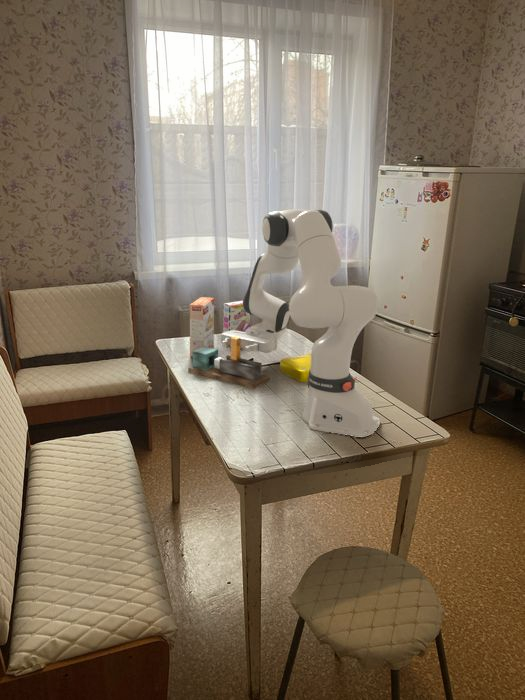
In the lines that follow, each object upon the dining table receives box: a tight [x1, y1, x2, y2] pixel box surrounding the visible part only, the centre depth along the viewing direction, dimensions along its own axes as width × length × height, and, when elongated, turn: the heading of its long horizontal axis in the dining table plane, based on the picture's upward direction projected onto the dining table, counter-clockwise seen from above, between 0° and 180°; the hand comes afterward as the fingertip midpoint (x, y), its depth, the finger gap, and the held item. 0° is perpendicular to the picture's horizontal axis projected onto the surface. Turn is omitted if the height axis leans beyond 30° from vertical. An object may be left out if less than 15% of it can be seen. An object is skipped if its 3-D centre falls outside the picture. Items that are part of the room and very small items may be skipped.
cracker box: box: [189, 296, 215, 358], centre depth 204 cm, size 14×6×21 cm, turn 168°
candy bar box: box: [222, 300, 251, 333], centre depth 221 cm, size 11×5×16 cm, turn 129°
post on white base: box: [214, 337, 248, 369], centre depth 181 cm, size 12×3×12 cm, turn 58°
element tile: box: [279, 353, 311, 383], centre depth 188 cm, size 15×15×5 cm
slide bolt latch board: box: [187, 346, 271, 390], centre depth 183 cm, size 28×10×8 cm, turn 58°
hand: (235, 346), depth 178 cm, fingers open, 8 cm apart
